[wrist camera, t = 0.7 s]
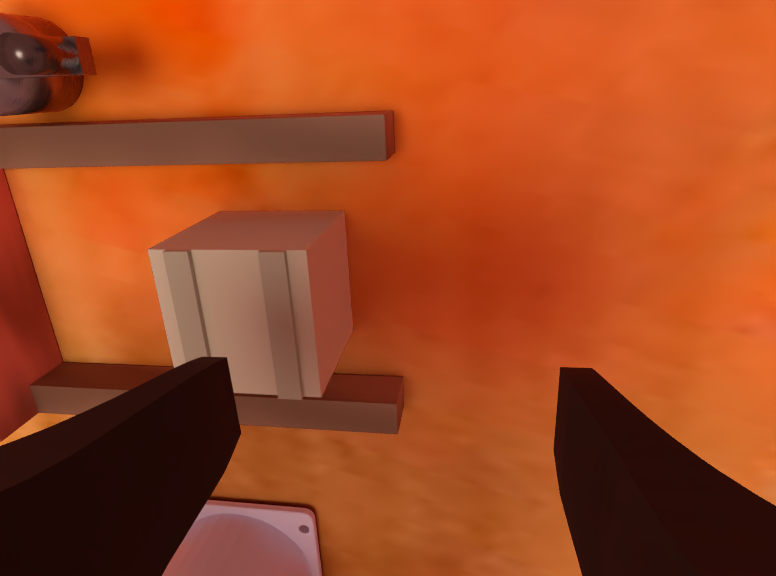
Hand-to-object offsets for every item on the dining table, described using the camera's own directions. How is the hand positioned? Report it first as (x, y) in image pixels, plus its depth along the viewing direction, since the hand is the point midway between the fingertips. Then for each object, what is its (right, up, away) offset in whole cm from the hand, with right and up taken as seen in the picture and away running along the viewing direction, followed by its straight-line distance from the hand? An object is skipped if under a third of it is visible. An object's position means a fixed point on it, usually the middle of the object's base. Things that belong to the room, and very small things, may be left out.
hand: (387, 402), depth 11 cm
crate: (-4, +3, +10) cm, 11 cm away
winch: (-11, +11, +8) cm, 17 cm away
